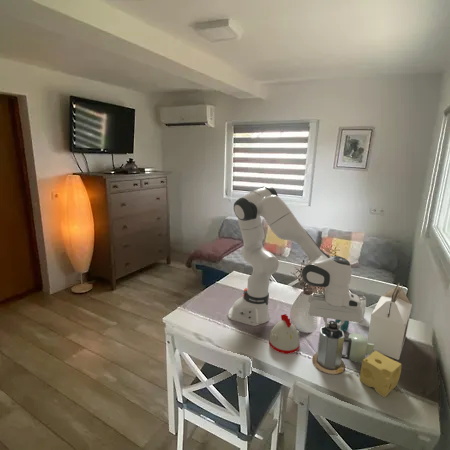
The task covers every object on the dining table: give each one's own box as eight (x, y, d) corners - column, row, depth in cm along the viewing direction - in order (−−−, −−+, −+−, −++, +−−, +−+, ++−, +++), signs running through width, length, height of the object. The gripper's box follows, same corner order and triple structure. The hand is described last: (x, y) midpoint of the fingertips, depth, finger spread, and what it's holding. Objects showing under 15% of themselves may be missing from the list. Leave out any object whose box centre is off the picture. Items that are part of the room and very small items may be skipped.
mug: (347, 360, 125) (350, 342, 123) (345, 349, 133) (347, 331, 130) (372, 365, 123) (376, 346, 121) (369, 353, 130) (372, 335, 128)
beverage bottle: (349, 334, 143) (354, 297, 138) (335, 332, 144) (339, 296, 139) (346, 327, 149) (351, 291, 144) (333, 325, 151) (337, 290, 146)
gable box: (398, 360, 126) (409, 302, 119) (365, 348, 134) (374, 292, 127) (405, 336, 143) (416, 284, 136) (376, 326, 151) (384, 276, 144)
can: (351, 319, 156) (354, 299, 153) (350, 313, 162) (353, 293, 159) (364, 321, 154) (367, 301, 151) (363, 315, 160) (366, 295, 157)
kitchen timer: (277, 356, 127) (279, 326, 124) (264, 337, 140) (265, 309, 136) (305, 350, 131) (308, 321, 127) (290, 332, 144) (292, 305, 140)
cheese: (385, 398, 106) (389, 375, 104) (357, 380, 115) (360, 358, 112) (398, 385, 112) (402, 363, 110) (371, 369, 121) (374, 348, 118)
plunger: (321, 354, 119) (324, 326, 116) (320, 343, 126) (323, 316, 123) (339, 357, 118) (343, 329, 114) (338, 346, 124) (341, 319, 121)
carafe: (312, 370, 119) (316, 338, 115) (311, 350, 131) (315, 320, 127) (349, 378, 115) (354, 345, 112) (345, 356, 128) (349, 326, 124)
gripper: (309, 296, 115) (306, 327, 119) (365, 304, 110) (360, 335, 113) (309, 289, 121) (306, 319, 125) (362, 296, 116) (357, 326, 119)
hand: (332, 327), depth 119 cm, fingers closed on plunger, 3 cm apart
